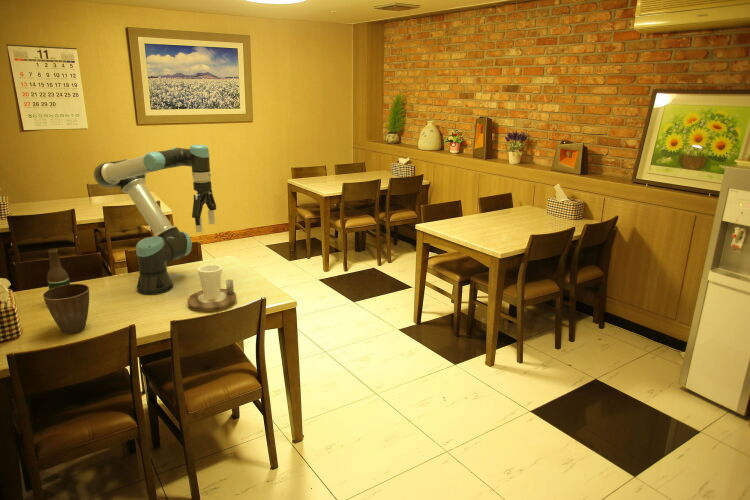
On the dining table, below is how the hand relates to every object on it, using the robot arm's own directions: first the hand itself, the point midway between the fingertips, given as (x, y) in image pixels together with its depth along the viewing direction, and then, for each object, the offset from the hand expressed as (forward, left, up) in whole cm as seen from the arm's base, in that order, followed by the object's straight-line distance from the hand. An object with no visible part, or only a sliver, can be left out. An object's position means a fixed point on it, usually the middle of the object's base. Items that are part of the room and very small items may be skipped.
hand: (205, 228), depth 230 cm
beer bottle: (-55, -25, -29) cm, 67 cm away
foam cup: (+8, -18, -26) cm, 32 cm away
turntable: (+8, -18, -27) cm, 33 cm away
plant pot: (-35, -48, -29) cm, 66 cm away
